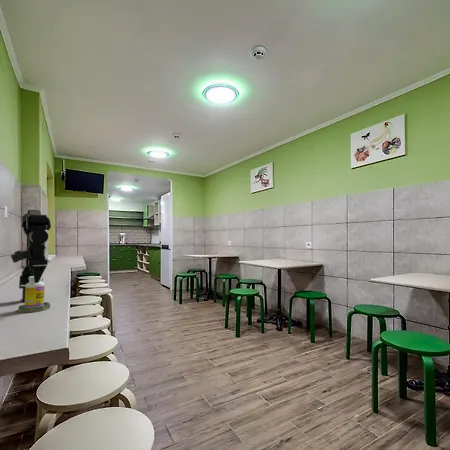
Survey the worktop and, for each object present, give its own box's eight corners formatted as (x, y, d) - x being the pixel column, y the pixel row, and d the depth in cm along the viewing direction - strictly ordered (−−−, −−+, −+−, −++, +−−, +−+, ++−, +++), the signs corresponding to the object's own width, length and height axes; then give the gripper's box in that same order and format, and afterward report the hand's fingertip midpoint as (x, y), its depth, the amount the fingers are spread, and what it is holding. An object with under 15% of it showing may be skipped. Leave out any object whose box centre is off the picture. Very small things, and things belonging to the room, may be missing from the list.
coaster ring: (17, 309, 113) (17, 304, 113) (48, 305, 120) (48, 301, 120) (18, 314, 105) (18, 309, 105) (51, 309, 112) (51, 305, 112)
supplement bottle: (35, 309, 109) (36, 277, 110) (20, 309, 109) (21, 277, 110) (47, 306, 115) (48, 275, 116) (33, 305, 116) (34, 275, 117)
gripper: (11, 244, 116) (10, 281, 115) (13, 244, 102) (11, 286, 101) (42, 244, 123) (41, 279, 122) (48, 243, 109) (47, 283, 108)
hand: (35, 281), depth 113 cm, fingers open, 9 cm apart
